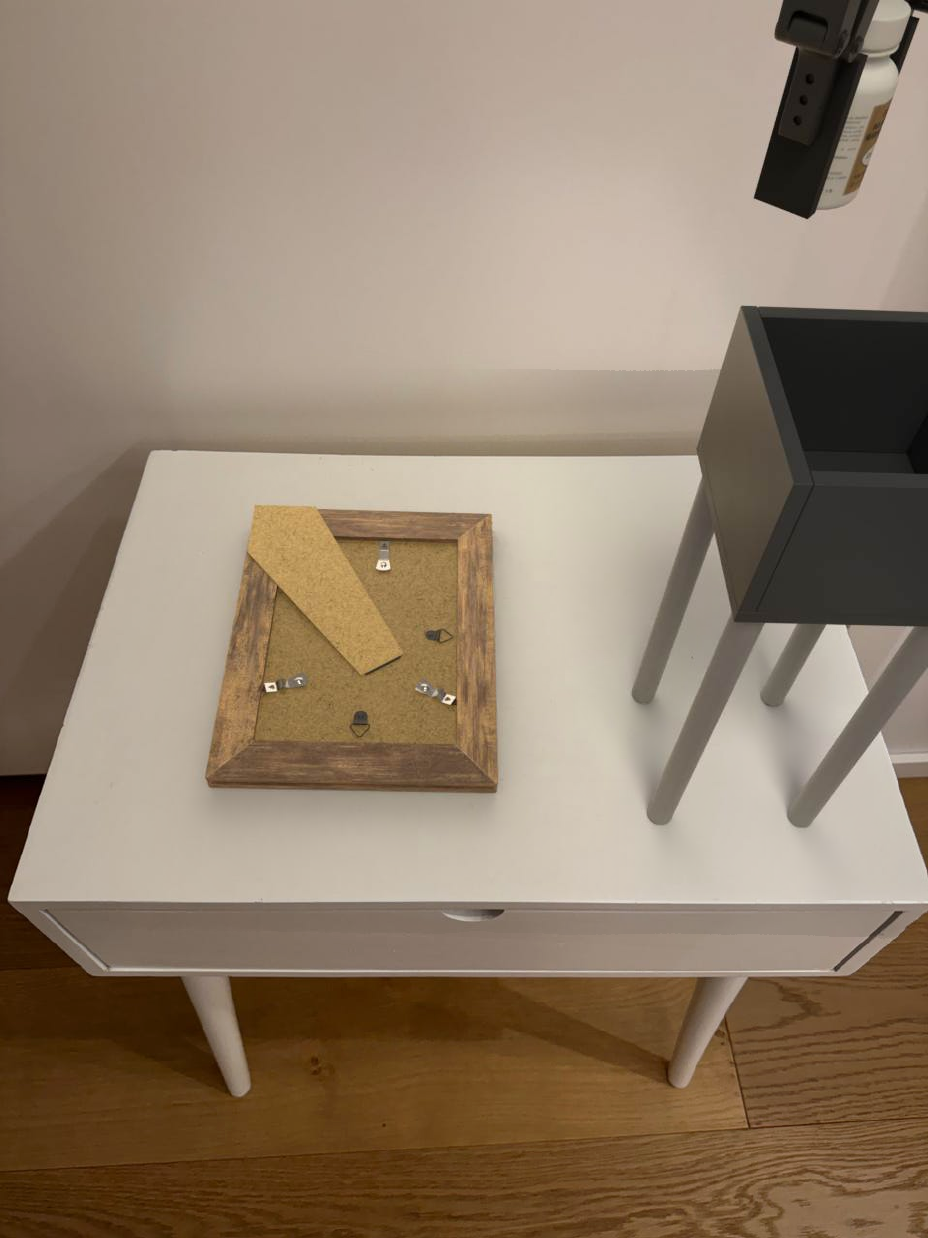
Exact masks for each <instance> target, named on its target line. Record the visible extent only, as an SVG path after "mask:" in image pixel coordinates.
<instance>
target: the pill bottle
mask: <svg viewBox="0 0 928 1238" xmlns="http://www.w3.org/2000/svg"><path fill="white" fill-rule="evenodd" d="M910 13H911V8H910V6H909V4H908V3H907V2H906V1H904V0H880V1H879V3H878V6H877V8H876V11H875V13H874V16H873V18H872V21H871V23H870V26H869V29H868V31H867V34H866V36H865V39H864V44H863V47H862V49H861V51H860V52H859V53H862V54H865V55H868V58H867V61H866V64H865V67H864V70H863V73H862V76H861V79H860V82H859V84H858V87H857V90H856V93H855V96H854V99H853V102H852V105H851V108H850V111H849V114H848V117H847V120H846V123H845V126H844V129H843V132H842V135H841V138H840V141H839V144H838V147H837V150H836V153H835V156H834V159H833V162H832V164H831V167H830V170H829V173H828V176H827V179H826V182H825V185H824V188H823V191H822V194H821V197H820V200H819V203H818V206H817V209H816V211H828V210H834V209H839V208H842V207H845V206H846V205H848V204H850V203H852V201H854V199H856V198H857V195H858V193H859V191H860V188H861V186H862V182H863V179H864V178H865V175H866V172H867V169H868V166H869V164H870V161H871V158H872V156H873V152H874V150H875V147H876V144H877V142H878V139H879V137H880V133H881V131H882V128H883V125H884V122H885V121H886V118H887V115H888V112H889V109H890V107H891V104H892V101H893V99H894V95H895V93H896V91H897V88H898V84H899V77H900V74H899V75H898V69H897V67H896V65H895V63H894V62H893V61H892V60H891V59H890V58H889V57H890V54H893V53H894V52H895V51H896V50H897V49H898V47H899V43H900V42H901V40H902V37H903V34H904V31H905V28H906V25H907V22H908V19H909V16H910Z"/></svg>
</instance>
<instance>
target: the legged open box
mask: <svg viewBox="0 0 928 1238" xmlns="http://www.w3.org/2000/svg"><path fill="white" fill-rule="evenodd" d="M718 374H719V375H718V377H717V382H716V384H715V387H714V391H713V394H712V397H711V400H710V403H709V407H708V410H707V414H706V416H705V419H704V423H703V426H702V430H701V432H700V436H699V439H698V442H697V445H696V454H697V459H698V463H699V468H700V472H701V478H700V482H699V484H698V486H697V487H698V488H697V490H696V493H695V497H694V500H693V502H692V506H691V509H690V511H689V515H688V518H687V521H686V524H685V527H684V529H683V534H682V536H681V539H680V542H679V545H678V549H677V552H676V555H675V558H674V561H673V564H672V567H671V571H670V573H669V576H668V579H667V583H666V585H665V589H664V592H663V595H662V597H661V601H660V604H659V607H658V610H657V612H656V616H655V619H654V622H653V625H652V628H651V631H650V635H649V638H648V640H647V643H646V644H647V645H646V647H645V650H644V653H643V656H642V659H641V662H640V665H639V668H638V672H637V674H636V677H635V681H634V683H633V686H632V688H631V689H632V690H631V696H632V698H633V699H634V700H635V701H636V702H637V703H639V704H643V705H647V704H650V703H651V702H653V700H655V698H656V697H655V696H656V694H657V692H658V689H659V685H660V682H661V680H662V677H663V675H664V671H665V669H666V666H667V663H668V661H669V658H670V655H671V654H672V653H671V652H672V650H673V648H674V644H675V642H676V639H677V636H678V634H679V631H680V628H681V626H682V622H683V620H684V617H685V614H686V611H687V609H688V606H689V603H690V601H691V597H692V595H693V592H694V589H695V586H696V585H697V581H698V578H699V575H700V573H701V570H702V567H703V564H704V562H705V559H706V556H707V553H708V550H709V548H710V545H711V542H712V540H713V537H714V535H715V541H716V545H717V550H718V554H719V560H720V565H721V569H722V573H723V578H724V582H725V587H726V591H727V596H728V602H729V606H730V610H731V611H730V615H729V617H728V619H727V622H726V625H725V626H724V629H723V631H722V634H721V636H720V638H719V640H718V643H717V645H716V647H715V650H714V652H713V655H712V657H711V659H710V661H709V663H708V664H709V665H708V666H707V669H706V671H705V674H704V676H703V678H702V680H701V683H700V685H699V687H698V690H697V692H696V694H695V697H694V699H693V701H692V704H691V706H690V709H689V711H688V713H687V716H686V717H685V721H684V722H683V724H682V727H681V729H680V732H679V734H678V737H677V738H676V741H675V743H674V746H673V748H672V750H671V753H670V755H669V758H668V760H667V763H666V764H665V767H664V769H663V771H662V774H661V777H660V778H659V781H658V784H657V786H656V788H655V790H654V793H653V795H652V797H651V800H650V802H649V805H648V807H647V809H646V814H647V817H648V820H650V822H652V823H653V824H654V825H656V826H664V825H665V826H666V825H667V824H669V823H670V822H671V820H672V819H673V816H674V814H675V812H676V810H677V808H678V806H679V804H680V802H681V799H682V797H683V795H684V793H685V792H686V789H687V787H688V785H689V783H690V781H691V779H692V776H693V774H694V773H695V770H696V768H697V766H698V764H699V762H700V760H701V758H702V755H703V754H704V752H705V749H706V747H707V745H708V744H709V741H710V739H711V737H712V735H713V733H714V731H715V728H716V726H717V724H718V722H719V720H720V718H721V716H722V714H723V712H724V710H725V708H726V706H727V703H728V701H729V699H730V697H731V696H732V693H733V691H734V689H735V687H736V685H737V682H738V680H739V678H740V677H741V675H742V672H743V671H744V668H745V666H746V664H747V662H748V660H749V657H750V655H751V653H752V652H753V649H754V647H755V645H756V643H757V641H758V639H759V637H760V634H761V633H762V630H763V628H764V626H765V624H786V625H787V624H789V625H790V624H791V625H792V624H793V625H795V627H794V628H793V630H792V633H791V635H790V636H789V638H788V640H787V642H786V644H785V645H784V648H783V650H782V651H781V653H780V656H779V657H778V659H777V661H776V663H775V664H774V667H773V668H772V670H771V673H770V674H769V676H768V678H767V680H766V682H765V684H764V686H763V688H762V690H761V692H760V698H761V700H762V701H763V703H764V704H766V705H768V706H770V707H779V706H781V705H782V704H783V703H784V701H785V699H786V697H787V696H788V694H789V692H790V691H791V689H792V687H793V685H794V683H795V681H796V680H797V678H798V676H799V674H800V673H801V671H802V669H803V667H804V666H805V664H806V662H807V660H808V658H809V656H810V655H811V653H812V651H813V649H814V647H816V644H817V642H818V641H819V639H820V637H821V635H822V634H823V632H824V630H825V628H826V626H827V625H828V626H829V625H830V626H831V625H832V626H835V625H836V626H868V627H869V626H870V627H871V626H872V627H874V626H875V627H876V626H877V627H910V628H911V627H913V628H912V629H911V630H910V632H909V633H908V634H907V636H906V638H905V639H904V641H903V642H902V644H901V645H900V646H899V648H898V650H897V651H896V652H895V653H894V655H893V656H892V658H891V660H890V661H889V662H888V664H887V665H886V667H885V668H884V670H883V671H882V673H881V674H880V676H879V677H878V678H877V680H876V682H875V683H874V684H873V686H872V687H871V689H870V691H868V693H867V694H866V696H865V697H864V699H863V700H862V701H861V703H860V705H859V706H858V708H857V709H856V710H855V712H854V714H853V715H852V716H851V717H850V719H849V721H848V722H847V723H846V725H845V727H844V728H843V729H842V731H841V733H840V734H839V735H838V737H837V738H836V739H835V741H834V743H833V744H832V745H831V747H830V748H829V750H828V751H827V753H826V755H824V757H823V759H822V760H821V762H820V763H819V765H818V766H817V767H816V768H815V771H813V773H812V775H811V776H810V777H809V778H808V780H807V782H806V784H805V785H804V786H803V788H802V789H801V791H800V792H799V794H798V795H797V796H796V798H795V799H794V800H793V802H792V804H791V805H790V806H789V808H788V810H787V819H788V820H789V822H790V823H791V824H792V825H793V826H795V827H797V828H800V829H804V828H808V827H810V825H812V823H813V822H814V820H816V818H817V817H818V816H819V814H820V813H821V811H822V810H823V808H824V807H825V806H826V805H827V803H828V802H829V800H830V799H831V798H832V796H833V795H834V794H835V792H837V790H838V789H839V787H840V786H841V785H842V784H843V782H844V780H845V779H846V778H847V776H848V775H849V774H850V773H851V771H852V770H853V768H854V767H855V766H856V765H857V763H858V762H859V761H860V760H861V758H862V756H863V755H864V753H865V752H866V751H867V749H869V747H870V746H871V744H872V743H873V742H874V740H875V739H876V738H877V736H878V735H879V734H880V732H881V731H882V729H884V727H885V725H886V724H887V723H888V722H889V720H890V719H891V718H892V716H893V715H894V714H895V712H896V711H897V710H898V708H899V707H900V706H901V704H902V703H903V702H904V701H905V699H906V698H907V696H908V695H909V694H910V693H911V692H912V689H913V688H914V687H915V685H916V684H917V683H918V682H919V680H920V679H921V677H922V676H923V675H924V674H925V672H926V671H927V670H928V311H913V310H912V311H911V310H881V309H856V308H855V309H854V308H853V309H852V308H851V309H849V308H824V307H823V308H822V307H795V306H768V305H767V306H764V305H763V306H762V305H760V306H757V305H740V307H739V310H738V312H737V317H736V320H735V322H734V327H733V329H732V332H731V335H730V339H729V343H728V345H727V349H726V352H725V355H724V358H723V363H722V365H721V369H720V371H719V373H718Z"/></svg>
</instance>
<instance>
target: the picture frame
mask: <svg viewBox="0 0 928 1238" xmlns="http://www.w3.org/2000/svg"><path fill="white" fill-rule="evenodd" d="M493 547H494V545H493V515H492V513H476V512H475V513H473V512H472V513H471V512H441V511H439V512H436V511H408V510H407V511H405V510H404V511H403V510H401V511H400V510H368V509H362V510H361V509H335V508H333V509H332V508H330V509H329V508H317V506H306V505H305V506H304V505H276V504H275V505H274V504H254V508H253V513H252V519H251V526H250V532H249V536H248V542H247V548H246V554H245V557H244V565H243V570H242V573H241V574H242V576H241V581H240V585H239V589H238V590H239V591H238V596H237V601H236V607H235V612H234V618H233V623H232V628H231V634H230V639H229V645H228V650H227V655H226V661H225V667H224V671H223V677H222V682H221V687H220V694H219V699H218V703H217V709H216V715H215V721H214V726H213V732H212V736H211V741H210V746H209V752H208V757H207V763H206V768H205V775H204V778H205V781H206V782H207V783H206V784H207V786H208V788H228V789H229V788H231V789H274V790H275V789H277V790H279V789H280V790H281V789H283V790H286V789H287V790H327V791H329V790H332V791H335V790H336V791H340V790H341V791H377V792H379V791H382V792H384V791H385V792H386V791H387V792H434V793H435V792H436V793H437V792H438V793H481V794H482V793H483V794H484V793H485V794H486V793H487V794H488V793H490V794H495V793H497V791H498V785H499V770H498V769H499V767H498V766H499V765H498V763H499V762H498V727H497V725H498V722H497V721H498V720H497V684H496V683H497V679H496V638H495V636H496V635H495V632H496V631H495V595H494V594H495V593H494V553H493V552H494V551H493V550H494V548H493Z"/></svg>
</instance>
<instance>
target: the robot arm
mask: <svg viewBox="0 0 928 1238" xmlns="http://www.w3.org/2000/svg"><path fill="white" fill-rule="evenodd" d="M879 1H880V0H782V3H781V8H780V11H779V15H778V19H777V22H776V23H775V27H774V35H773V36H774V39H775V40H776V41H778V42H781V43H784V44H787V45H790V46H793V47H795V48H794V52H793V56H792V59H791V63H790V67H789V70H788V72H787V73H788V74H787V76H786V77H787V78H786V81H785V85H784V87H783V91H782V95H781V98H780V99H781V100H780V101H779V106H778V108H777V112H776V117H775V120H774V124H773V127H772V131H771V134H770V138H769V142H768V144H767V149H766V151H765V155H764V158H763V159H764V160H763V162H762V167H761V170H760V173H759V177H758V181H757V184H756V187H755V191H754V195H753V200H757V201H759V202H761V203H763V204H766V205H770V206H772V207H775V208H777V209H780V210H783V211H785V212H788V213H789V214H792V215H795V216H798V217H800V218H802V219H805V220H809V219H810V218H811V217H812V216H814V215H815V214H816V212H817V210H816V209H817V206H818V203H819V200H820V197H821V194H822V191H823V188H824V185H825V182H826V179H827V176H828V173H829V170H830V167H831V164H832V162H833V159H834V156H835V153H836V150H837V147H838V144H839V141H840V138H841V135H842V132H843V129H844V126H845V123H846V120H847V117H848V114H849V111H850V108H851V105H852V102H853V99H854V96H855V93H856V90H857V87H858V84H859V82H860V79H861V76H862V73H863V70H864V67H865V64H866V61H867V58H868V55H865V54H862V53H859V52H860V51H861V49H862V47H863V44H864V39H865V36H866V34H867V31H868V29H869V26H870V23H871V21H872V18H873V16H874V13H875V11H876V8H877V6H878V3H879ZM904 1H906V2H907V3H908V4H909V6H910V8H911V13H910V16H909V19H908V22H907V25H906V28H905V31H904V34H903V37H902V40H901V42H900V43H899V47H898V49H897V50H896V51H895V52H894V53H893V54H890V57H889V58H890V59H891V60H892V61H893V62H894V63H895V65H896V67H897V69H898V75H899V76H900V74H901V71H902V70H903V69H902V68H903V66H904V63H905V60H906V57H907V55H908V53H909V49H910V47H911V44H912V42H913V38H914V35H915V33H916V30H917V27H918V26H919V25H918V24H919V22H920V17H916V16H913V15H914V13H915V11H916V12H919V13H923V14H927V15H928V0H904Z"/></svg>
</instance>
